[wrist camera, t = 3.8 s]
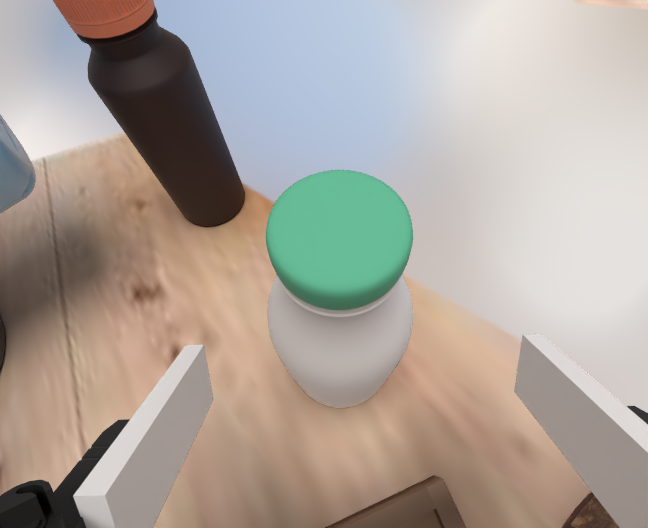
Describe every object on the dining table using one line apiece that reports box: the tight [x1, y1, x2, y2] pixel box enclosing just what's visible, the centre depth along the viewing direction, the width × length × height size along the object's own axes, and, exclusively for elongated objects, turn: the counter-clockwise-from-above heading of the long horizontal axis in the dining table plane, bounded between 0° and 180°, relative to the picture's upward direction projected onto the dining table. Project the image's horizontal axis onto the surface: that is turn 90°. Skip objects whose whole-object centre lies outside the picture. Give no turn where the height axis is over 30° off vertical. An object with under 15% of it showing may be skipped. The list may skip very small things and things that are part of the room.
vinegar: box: [53, 0, 245, 226], centre depth 27 cm, size 7×7×20 cm
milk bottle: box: [266, 170, 413, 408], centre depth 19 cm, size 8×8×20 cm
